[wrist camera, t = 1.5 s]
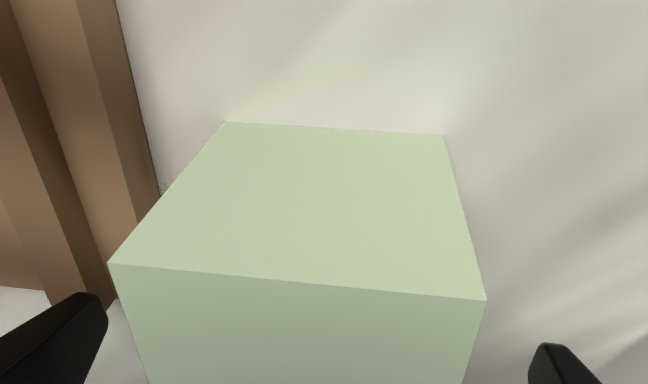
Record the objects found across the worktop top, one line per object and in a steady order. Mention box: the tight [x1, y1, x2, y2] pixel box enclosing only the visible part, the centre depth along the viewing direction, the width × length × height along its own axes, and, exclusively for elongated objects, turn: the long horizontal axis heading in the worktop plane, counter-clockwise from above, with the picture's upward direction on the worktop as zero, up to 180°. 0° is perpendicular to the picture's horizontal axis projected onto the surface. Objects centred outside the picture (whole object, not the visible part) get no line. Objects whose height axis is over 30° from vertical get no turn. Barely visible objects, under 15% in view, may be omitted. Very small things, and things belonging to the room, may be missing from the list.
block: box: [107, 121, 488, 384], centre depth 9 cm, size 6×5×5 cm
